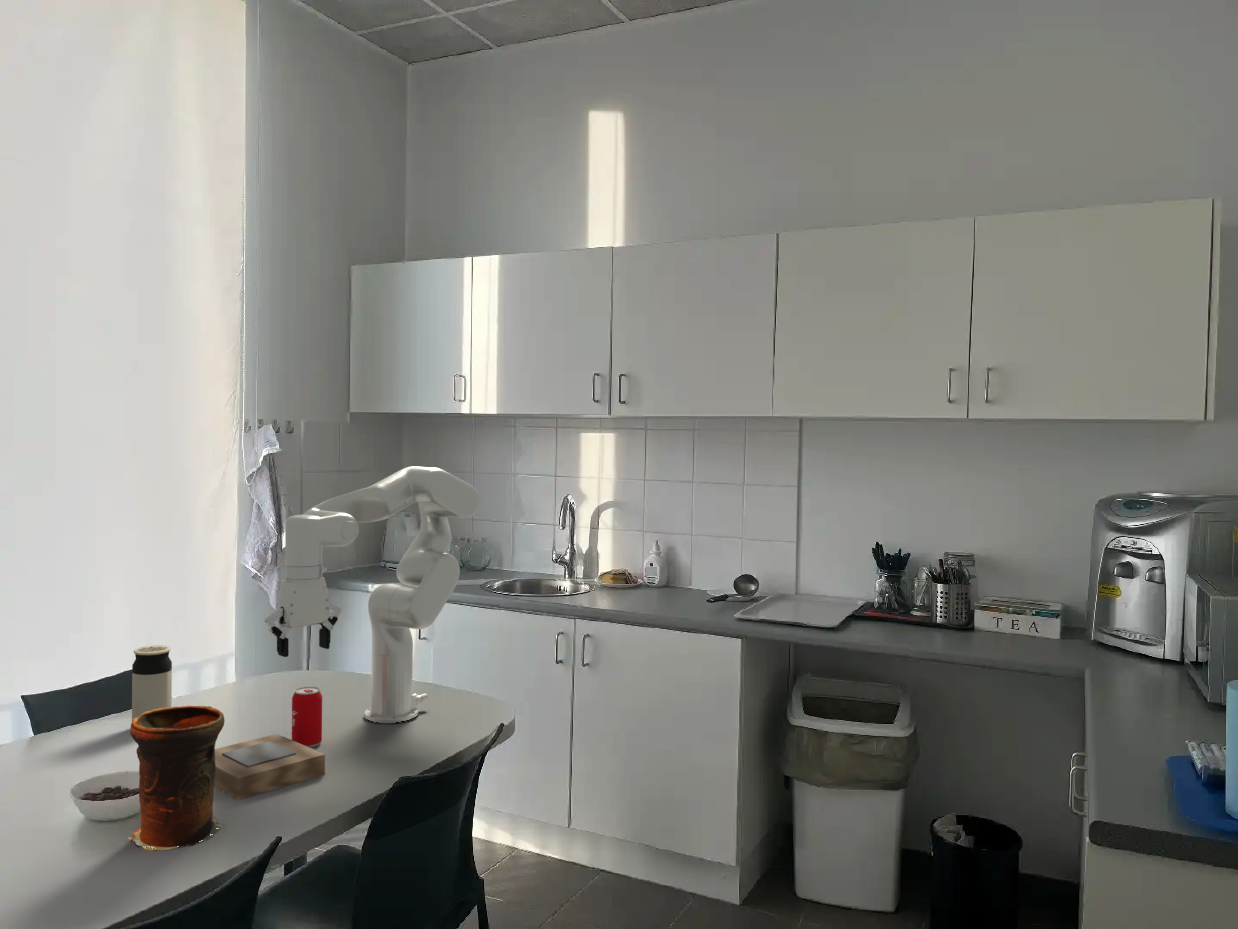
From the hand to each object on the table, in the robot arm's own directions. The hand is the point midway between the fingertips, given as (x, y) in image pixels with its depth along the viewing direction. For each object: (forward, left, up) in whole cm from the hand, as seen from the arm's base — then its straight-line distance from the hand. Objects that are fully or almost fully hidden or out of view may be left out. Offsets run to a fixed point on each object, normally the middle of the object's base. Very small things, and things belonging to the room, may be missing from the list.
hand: (304, 651), depth 204 cm
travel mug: (+17, -34, -21) cm, 43 cm away
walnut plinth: (+15, +9, -20) cm, 27 cm away
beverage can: (-1, 0, -21) cm, 21 cm away
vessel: (+38, +24, -21) cm, 50 cm away
